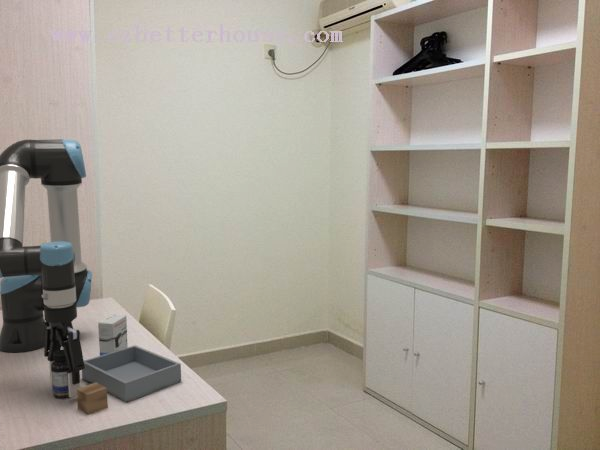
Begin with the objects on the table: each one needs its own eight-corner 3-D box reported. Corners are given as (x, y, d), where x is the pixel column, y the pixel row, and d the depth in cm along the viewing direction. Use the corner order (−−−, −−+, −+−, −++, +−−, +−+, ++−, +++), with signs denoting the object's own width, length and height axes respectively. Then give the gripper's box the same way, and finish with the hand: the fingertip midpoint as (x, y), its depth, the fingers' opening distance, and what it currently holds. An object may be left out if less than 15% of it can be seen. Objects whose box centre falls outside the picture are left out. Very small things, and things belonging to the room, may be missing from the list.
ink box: (114, 362, 165) (112, 323, 163) (99, 361, 166) (97, 322, 164) (129, 351, 173) (127, 314, 171) (114, 350, 174) (112, 313, 172)
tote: (82, 379, 153) (81, 361, 152) (135, 361, 165) (135, 345, 164) (126, 402, 138) (125, 383, 138) (181, 381, 151) (180, 363, 150)
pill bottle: (71, 386, 148) (68, 346, 147) (83, 392, 144) (81, 351, 143) (48, 394, 143) (45, 352, 142) (60, 401, 140) (57, 358, 138)
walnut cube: (77, 408, 136) (76, 388, 135) (97, 401, 140) (96, 382, 139) (88, 415, 133) (87, 394, 132) (107, 407, 136) (106, 387, 136)
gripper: (25, 299, 145) (31, 382, 148) (66, 316, 131) (72, 407, 134) (54, 293, 150) (59, 374, 154) (96, 308, 136) (101, 397, 139)
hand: (65, 389), depth 144 cm, fingers open, 9 cm apart
